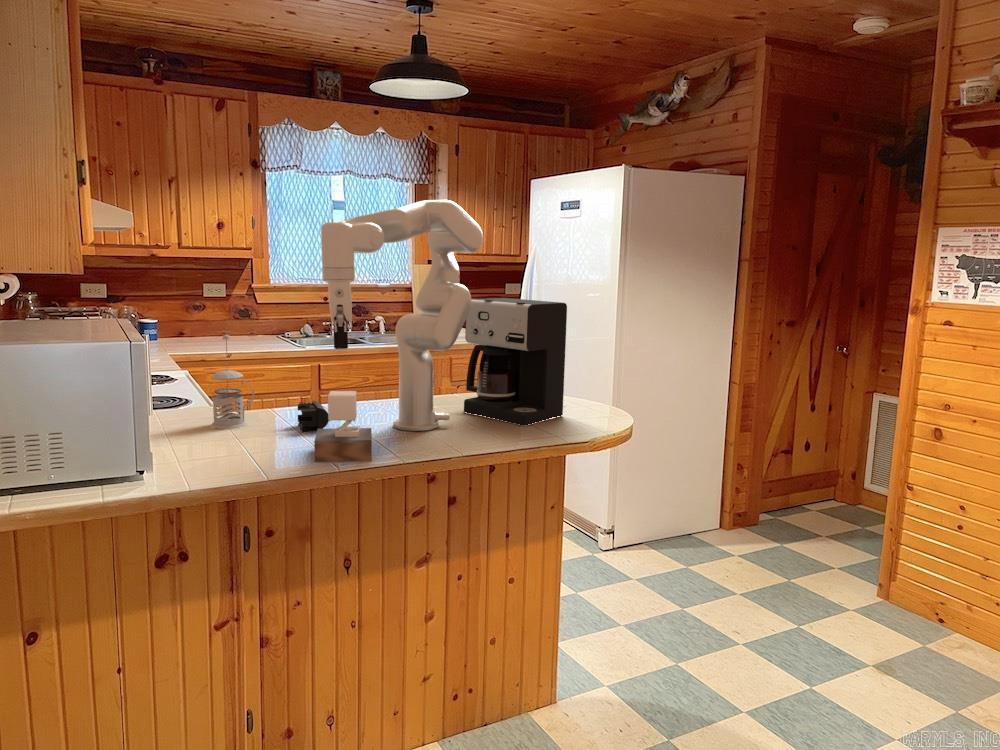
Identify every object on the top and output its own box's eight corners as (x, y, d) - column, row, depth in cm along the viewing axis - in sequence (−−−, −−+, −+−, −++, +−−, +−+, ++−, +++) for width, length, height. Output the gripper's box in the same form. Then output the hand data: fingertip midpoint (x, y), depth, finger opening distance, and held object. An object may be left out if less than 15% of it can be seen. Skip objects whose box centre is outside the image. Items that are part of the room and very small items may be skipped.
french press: (208, 422, 209) (205, 333, 205) (252, 419, 213) (250, 332, 209) (211, 430, 200) (207, 337, 196) (256, 427, 205) (254, 336, 201)
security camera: (330, 430, 182) (330, 390, 181) (360, 430, 183) (360, 390, 181) (328, 437, 176) (327, 395, 174) (358, 437, 177) (358, 395, 175)
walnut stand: (371, 447, 187) (371, 427, 186) (371, 460, 175) (371, 439, 175) (317, 448, 185) (317, 428, 184) (314, 462, 173) (314, 440, 172)
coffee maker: (452, 411, 232) (454, 297, 226) (493, 402, 247) (496, 296, 241) (523, 426, 214) (527, 303, 208) (563, 416, 229) (568, 301, 223)
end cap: (329, 431, 203) (329, 407, 201) (302, 433, 200) (302, 408, 199) (323, 423, 212) (323, 400, 211) (297, 425, 209) (297, 401, 208)
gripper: (355, 277, 172) (357, 350, 176) (353, 273, 189) (355, 340, 192) (322, 277, 171) (324, 351, 174) (323, 273, 187) (325, 341, 191)
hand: (340, 345), depth 183 cm, fingers open, 9 cm apart
